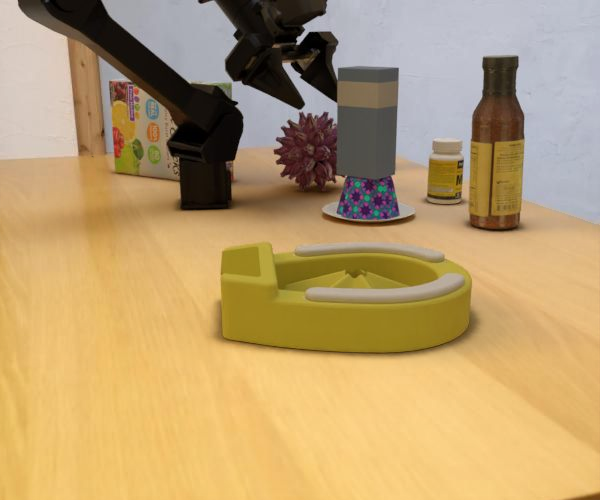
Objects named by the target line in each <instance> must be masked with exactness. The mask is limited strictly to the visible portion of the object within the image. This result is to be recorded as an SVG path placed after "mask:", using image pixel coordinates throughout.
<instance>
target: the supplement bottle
mask: <svg viewBox="0 0 600 500" xmlns="http://www.w3.org/2000/svg"><path fill="white" fill-rule="evenodd" d="M431 150H432V151H433V152H432V153H430V155H429V156H428V170H427V172H428V173H427V187H426V189H427V190H426V200H427V201H428V202H429V203H433V204H437V205H453V204H458V203H460V202H461V201H462V194H463V181H464V179H463V178H464V165H465V156H464V155H463V153H461V152H462V151H463V139H461V138H454V137H437V138H433V139H432V146H431Z"/></svg>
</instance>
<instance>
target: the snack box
mask: <svg viewBox="0 0 600 500" xmlns="http://www.w3.org/2000/svg"><path fill="white" fill-rule="evenodd" d="M185 80H186V81H188V82H189V83H190V84H191V83H197V84H207V85H217V86H218V87H219V88H221V89H222V90H223V92H224V93H225V94H226V95H227V96H228V97H229V98H230V99H232V100H233V91H232V90H233V83H232V81H208V80H207V81H206V80H192V79H185ZM108 90H109V102H110V104H109V105H110V115H111V128H112V129H111V130H112V143H113V156H114V171H115V173H118V174H125V175H135V176H142V177H148V178H158V179H164V180H165V179H166V180H172V181H173V180H174V181H180V176H179V157H172V156H171V155H170V152H169V150H168V147H167V144H166V143H167V141H168V140H169V138H170V137H171V136H172V134H173V133H174V131H175V130H176V129H177V126H176V125H175V124H174V122H173V120H172V118H171V115H170V113H169V111H168V110H167V109H166V108H165V107H164V106H162V105H161V104H160V103H159V102H157V101H156V100H155V99H153V98H152V97H151V96H150V95H148V94H147V93H146V92H144V91H143V90H142V89H141V88H139V87H138V86H137V85H135V84H134V83H133V82H132V81H130V80H129V79H128V78H126V77H125V78H116V79H115V78H114V79H109V81H108ZM226 167H229V168H230V169H231V182H232V181H234V179H235V178H234V177H235V176H234V161H228V162H226Z"/></svg>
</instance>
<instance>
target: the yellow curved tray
mask: <svg viewBox="0 0 600 500" xmlns="http://www.w3.org/2000/svg"><path fill="white" fill-rule="evenodd" d="M220 260H221V261H220V299H221V300H220V302H221V303H220V304H221V325H222V327H221V328H222V330H221V331H222V337H223V338H224V339H226V340H230V341H236V342H237V341H238V342H242V343H243V342H244V343H251V344H257V345H264V346H270V347H272V346H273V347H279V348H287V349H289V348H290V349H298V350H309V351H324V352H325V351H326V352H339V353H340V352H341V353H343V352H344V353H377V354H379V353H383V354H384V353H402V352H410V351H419V350H425V349H429V348H433V347H437V346H439V345H444V344H446V343H448V342H451V341H453V340H455V339H456V338H457V339H458V337H460V336H461V335H463V333H464V332H466V331H467V329H468V328H469V324H470V317H471V315H470V314H471V303H472V302H471V301H472V300H471V299H472V287H473V278H472V277H471V275H470V273H469V271H468V270H467V269H466V268H464V267H463V266H461V265H460V264H458V263H456V262H454V261H452V260H450V259H447V258H446V257H445V253H443V252H442V251H439V250H435V249H432V248H428V247H423V246H420V245H414V244H405V243H399V242H388V241H387V242H386V241H385V242H384V241H345V242H331V243H330V242H329V243H317V244H316V243H315V244H305V245H304V244H303V245H297V246H296V247H295V248H294V251H288V252H278V253H274V251H273V245H272V243H271V242H269V241H261V242H254V243H247V244H241V245H234V246H233V245H232V246H227V247H225V248H224V249H223V250H222V251H221V259H220Z"/></svg>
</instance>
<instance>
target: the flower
mask: <svg viewBox="0 0 600 500" xmlns="http://www.w3.org/2000/svg"><path fill="white" fill-rule="evenodd" d="M298 116H299V119H298V123H296V122H294V121H292V119H291V118H289V119H287V121H286V124H288V126H289V127H287V126H285V124H284V125H282V126H280V130H281V131H282V132H283V134H284V136H281V137H280V136H276V138H275V142H277V143H279V144H280V145H281V146H280V147H278V148H273V155H276V156H279V158H278V159H276V160H275V164H276V165H277V166H279V165H283V166H284V168H283V170H282V171H281V172H280V173H279V175H280V178H282V179H283V178H285V177H286V176H288V180H289V181H292V180H293V179H294V178H295V180H294V182H295V184H298V191H302V192H305V189H306V187H307V188H311V186H312V184H313V182H314V183H315V184H316V187H318V188H320V190H321V191H322V192H326V190H327V187H326V186H327V185H326V184H327V183H329V182H332V183H333V184H337V183H338V180H337V179H336V177H341V178H343V179H346V176H344V175H337V122H334V121H335V119H334V117H329V111H325V110H324V111H323V112H322V115H320V116H319V114H318V115H317V114H315V115H314V116H313V113H312V112H308V113H307V114H306V115H305V113H304V111H298Z"/></svg>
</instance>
